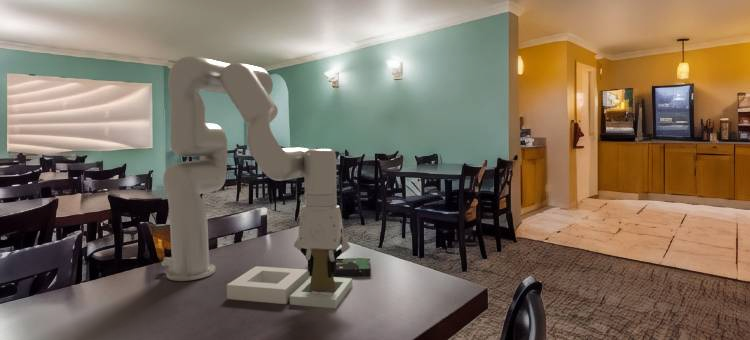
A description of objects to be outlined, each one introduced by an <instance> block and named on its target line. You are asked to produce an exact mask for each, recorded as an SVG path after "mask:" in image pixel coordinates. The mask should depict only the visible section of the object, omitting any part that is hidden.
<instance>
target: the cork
mask: <svg viewBox="0 0 750 340" xmlns="http://www.w3.org/2000/svg"><path fill="white" fill-rule="evenodd" d="M311 254H312V256H313V270H312V276H310V277H311V284H310V289H311V290H310V291H312V292H313V293H326V292H327V293H328V292H331V291H333V290H335V289H334V288H335V284H334V277H333V276H332V277H331V278H329V276H328V261H329V250H322V249H311Z"/></svg>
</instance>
